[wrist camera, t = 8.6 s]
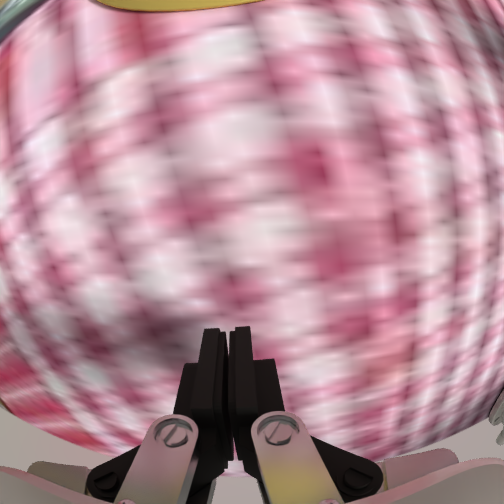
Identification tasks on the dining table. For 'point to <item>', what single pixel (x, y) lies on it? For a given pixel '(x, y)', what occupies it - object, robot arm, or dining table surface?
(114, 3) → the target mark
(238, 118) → the dining table surface
